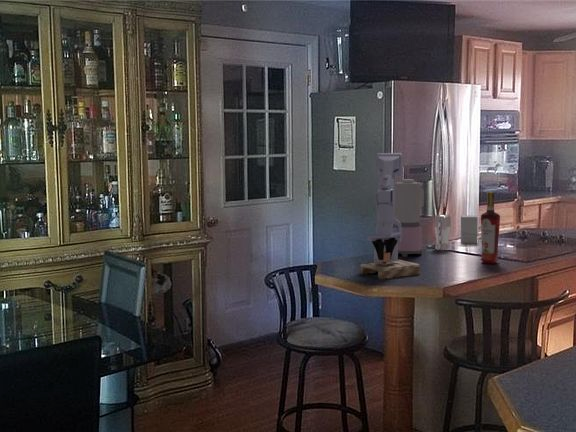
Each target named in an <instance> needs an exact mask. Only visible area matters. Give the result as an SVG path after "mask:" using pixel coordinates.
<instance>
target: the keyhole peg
mask: <svg viewBox="0 0 576 432" xmlns="http://www.w3.org/2000/svg"><path fill="white" fill-rule="evenodd" d="M379 261H382V267H386V264H387V262H388V261H390V252H386V251H384V257H383V260H379Z"/></svg>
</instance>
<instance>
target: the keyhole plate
mask: <svg viewBox="0 0 576 432" xmlns="http://www.w3.org/2000/svg"><path fill="white" fill-rule="evenodd" d="M420 270H421V265H420V264H419V263H416V262H413V261H412V262H411V261H406V260H402V259H398V260H392V261H388V262H387V264H386V267H382V262H376V263H374V262H369V263H361V264H360V275H362V274H363V275H368V274H367V273H370V274H375V273H376V272H378V273H377V279H378V280H386V279H385V278H387V279H393V277H395V278H400V277H401V276H402V277H407V276H414V275H415V276H416V275H420V273H421V271H420Z"/></svg>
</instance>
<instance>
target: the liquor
mask: <svg viewBox="0 0 576 432" xmlns="http://www.w3.org/2000/svg"><path fill="white" fill-rule="evenodd" d="M486 196H487V197H486V198H487V199H486V200H487V205H486V211H485V212H483V213H482V214H481V215H480V233H481V235H480V236H481V257H480V261H481V262H482V263H483V264H485V265H486V264H487V265H495V264H497V263H498V262H499V258H498V257H499V256H498V254H499V235H500V222H501V215H500V214H499V213H497V212H495V201H494V200H495V192H494V191H487V192H486Z"/></svg>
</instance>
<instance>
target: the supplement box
mask: <svg viewBox="0 0 576 432" xmlns="http://www.w3.org/2000/svg"><path fill="white" fill-rule="evenodd" d="M478 219H479V217H478V216H477V215H475V214H472V215H471V214H470V215H467V214H465V215H463V214H462V215H460V242H461V244H478V226H479V225H478V222H479V221H478Z"/></svg>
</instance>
